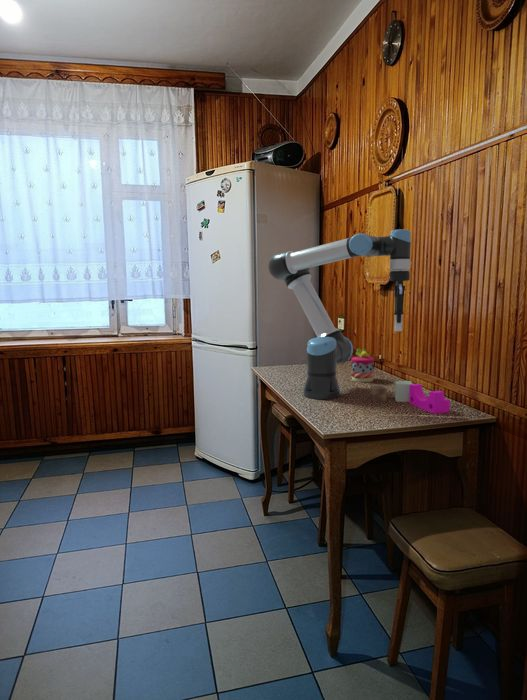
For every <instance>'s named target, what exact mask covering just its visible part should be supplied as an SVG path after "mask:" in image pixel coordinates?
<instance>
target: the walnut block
mask: <svg viewBox="0 0 527 700" xmlns="http://www.w3.org/2000/svg"><path fill="white" fill-rule="evenodd" d="M387 393H388V392H387V388H386V387H385V385H371V386H370V399H371V401H372V402H387Z"/></svg>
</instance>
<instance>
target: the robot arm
mask: <svg viewBox="0 0 527 700" xmlns="http://www.w3.org/2000/svg"><path fill="white" fill-rule="evenodd" d="M411 246H412V240H411V231H410V230H409V229H400V228H399V229H393V230H391V231H390V235H387V236H374V235H370V234H367V233H357V234H356V233H355V234H354V235H353V236H352V237H351V236H350V237H348V238H344V239H340V240H336V241H332V242H328V243H325V244H321V245H317V246H312V247H309V248H305V249H301V250H298V251H292V250H288V251H283V252H277V253H275V254H274V255H272V256H271V257H270V259H269V261H268V264H267V265H268V266H267V268H268V271H269V272H268V273H269V274H270V275H271V277H272V278H274V279H276V280H279V281H284V283H285V285H286V286H287V288H288V290H292V291H293V293H294V295H295V297H296V298H297V300H298V303H299V305H300V306H301V308H302V311H303V312H304V314H305V316H306V317H307V320H308V322H309V324H310V325H311V328H312V329H313V331H314V333H315V335H316V337H314V338H311V339H309V340H308V341H307V347H306V352H307V353H306V354H307V355H306V356H307V358H306V359H307V360H306V361H307V362H306V363H307V364H306V365H307V366H306V367H307V373H306V374H307V376H306V380H305V383H304V386H303V389H302V395H303V397H306V398H309V399H315V400H316V399H317V400H330V399H336V398H339V397H340V396H341V388H340V385H339V382H338V379H337V366H340V365H344V364H345V363H347V362H348V361H349V360H351V359H352V355H353V353H354V346H353V343H352V342H351V340H350V339H349V338H348V337H345V336H344V335H343V332H342V331H341V329H339V328H337V327H335V325H334V323H333V322H332V320H331V318H330V316H329V314H328V312H327V310H326V308H325V306H324V304H323V303H322V300H321V299H320V297H319V294H318V293H317V290H316V289H315V287H314V286H313V284H312V281H311V279H312V274H311V272H310V270H311V268H314V267H317V266H322V265H325V264H330V263H335V262H339V261H342V260H347V259H352V258H357V257H360V256H361V257H364V258H365V257H368V258H372V257H385V256H386V257H387V256H389V270H390V272H389V281H390V282H395V285H393V291H394V292H393V294H394V312H393V315H394V332H402V331H403V315H404V314H405V313H404V302H405V300H404V299H405V291H406V285H404V282H408V281H410V279H411V277H410V276H411V272H410V271H409V270H410V269H411V264H413V263H412V261H411V250H412V249H411V248H412V247H411Z"/></svg>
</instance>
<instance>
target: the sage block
mask: <svg viewBox="0 0 527 700" xmlns="http://www.w3.org/2000/svg"><path fill="white" fill-rule="evenodd" d="M410 384H413V382H412V381H410V380H394V400H395V402H399V403H400V402H401V403H409V396H410Z"/></svg>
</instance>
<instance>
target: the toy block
mask: <svg viewBox="0 0 527 700" xmlns="http://www.w3.org/2000/svg"><path fill="white" fill-rule="evenodd" d="M450 401H451V400H450V399H447V398H445V391H442V390H432V391H431V390H430V391H429V395H428V396H426V395H425V394H424V391H423V385H422V384H421V383H412V384H410V396H409V402H408V403H409V405H412V406H415V407H417V408H420V409H422V410H424V411H427V412H429V413H432V414H434V415H435V414H442V413H445V414H446V413H450V409H451V408H450V407H451V403H450Z"/></svg>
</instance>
